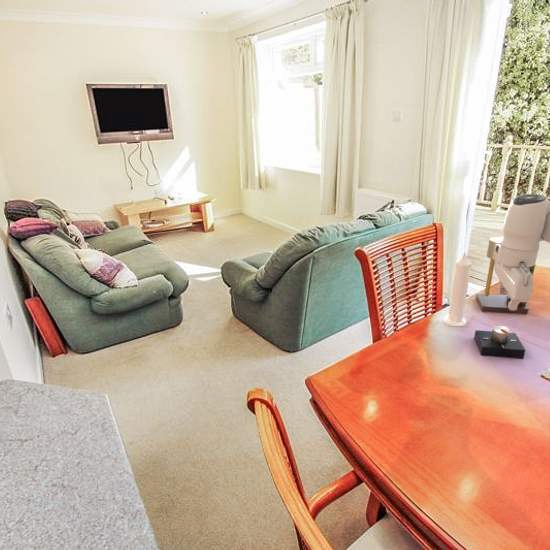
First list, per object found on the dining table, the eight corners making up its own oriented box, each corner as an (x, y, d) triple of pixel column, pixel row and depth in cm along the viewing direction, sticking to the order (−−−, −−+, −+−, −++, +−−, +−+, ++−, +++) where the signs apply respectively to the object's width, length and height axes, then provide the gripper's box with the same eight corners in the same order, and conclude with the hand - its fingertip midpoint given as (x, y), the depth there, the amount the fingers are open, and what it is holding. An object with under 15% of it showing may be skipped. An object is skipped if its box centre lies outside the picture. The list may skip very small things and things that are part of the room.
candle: (455, 329, 122) (466, 258, 112) (438, 319, 128) (447, 251, 118) (471, 323, 125) (483, 253, 115) (454, 314, 131) (463, 247, 121)
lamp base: (520, 301, 136) (522, 291, 134) (529, 314, 127) (532, 304, 126) (475, 298, 140) (477, 289, 138) (481, 312, 131) (483, 301, 129)
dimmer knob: (487, 337, 112) (489, 326, 110) (499, 334, 113) (501, 323, 111) (499, 345, 108) (501, 333, 107) (511, 341, 109) (514, 330, 108)
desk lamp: (497, 292, 135) (508, 236, 126) (502, 300, 129) (514, 243, 121) (478, 291, 137) (487, 236, 128) (482, 299, 131) (492, 242, 122)
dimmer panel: (513, 341, 114) (515, 332, 113) (523, 359, 106) (525, 349, 105) (474, 338, 117) (475, 329, 116) (480, 355, 109) (482, 346, 108)
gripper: (545, 271, 91) (532, 320, 96) (518, 243, 109) (508, 286, 114) (515, 270, 92) (504, 318, 98) (494, 243, 110) (485, 285, 116)
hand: (506, 301), depth 106 cm, fingers open, 8 cm apart
